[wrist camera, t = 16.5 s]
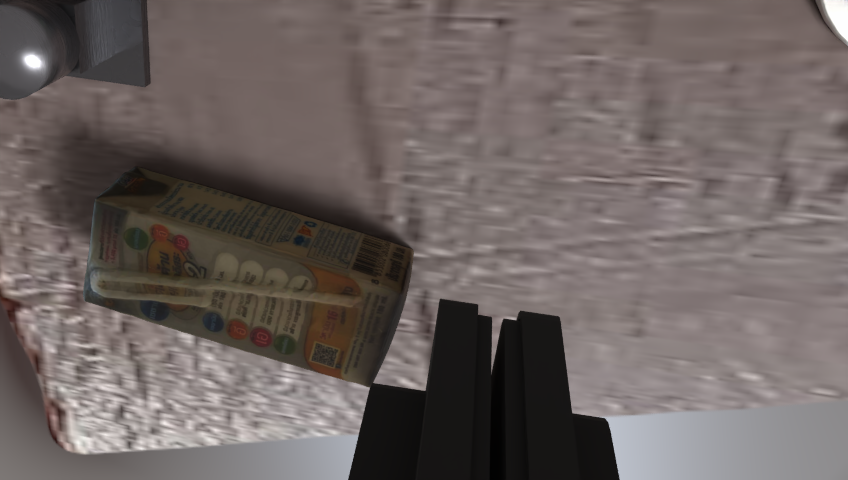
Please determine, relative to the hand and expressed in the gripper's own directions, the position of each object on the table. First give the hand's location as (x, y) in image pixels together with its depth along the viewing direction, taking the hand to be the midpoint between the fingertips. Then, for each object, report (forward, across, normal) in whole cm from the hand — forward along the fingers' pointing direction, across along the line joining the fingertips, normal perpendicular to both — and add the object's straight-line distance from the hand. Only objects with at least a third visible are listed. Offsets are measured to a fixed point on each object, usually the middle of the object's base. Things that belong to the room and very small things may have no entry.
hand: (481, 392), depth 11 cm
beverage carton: (+36, +12, +19) cm, 42 cm away
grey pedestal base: (+35, +23, +5) cm, 42 cm away
